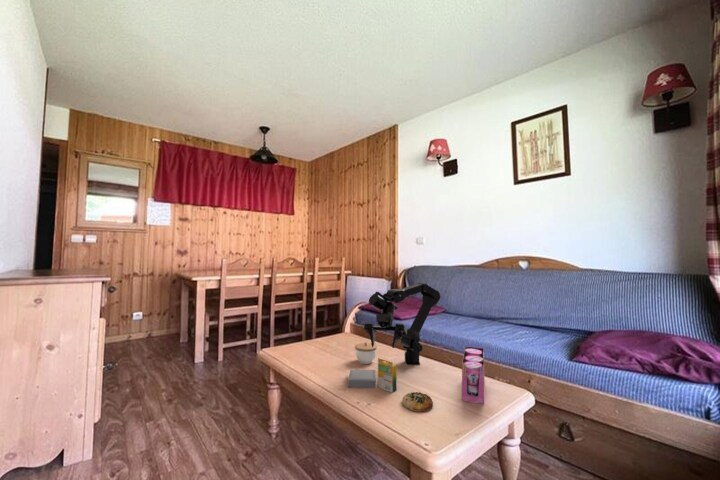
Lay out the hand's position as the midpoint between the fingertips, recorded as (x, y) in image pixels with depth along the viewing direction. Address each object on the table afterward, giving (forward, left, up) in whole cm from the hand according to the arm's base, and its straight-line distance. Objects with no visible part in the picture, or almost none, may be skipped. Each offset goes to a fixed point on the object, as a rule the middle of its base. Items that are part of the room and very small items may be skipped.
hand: (382, 347), depth 132 cm
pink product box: (-36, +9, -14) cm, 39 cm away
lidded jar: (+8, -20, -13) cm, 25 cm away
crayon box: (-1, +10, -13) cm, 17 cm away
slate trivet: (+9, +4, -13) cm, 16 cm away
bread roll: (-11, +22, -14) cm, 28 cm away
